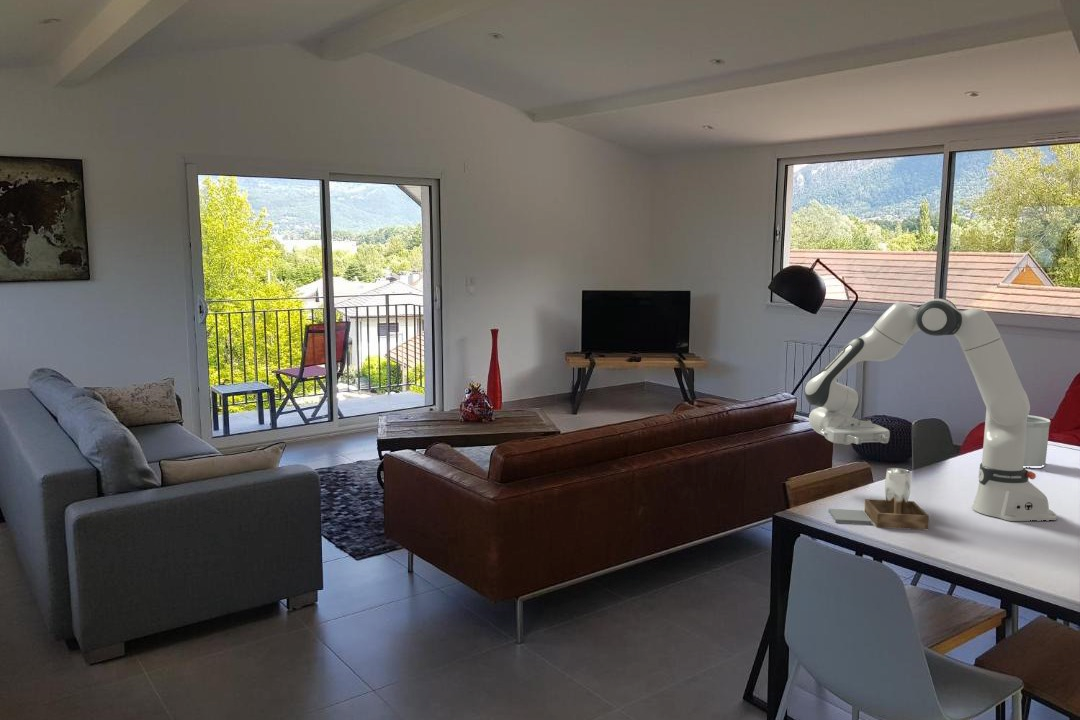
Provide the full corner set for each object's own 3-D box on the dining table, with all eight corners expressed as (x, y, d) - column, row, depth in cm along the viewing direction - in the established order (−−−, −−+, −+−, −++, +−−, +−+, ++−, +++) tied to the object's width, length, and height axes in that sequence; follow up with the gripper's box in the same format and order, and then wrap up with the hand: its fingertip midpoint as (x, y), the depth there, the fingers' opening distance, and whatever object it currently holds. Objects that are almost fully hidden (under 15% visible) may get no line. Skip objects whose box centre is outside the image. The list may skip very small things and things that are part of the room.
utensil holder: (1013, 469, 305) (1017, 422, 303) (993, 458, 320) (997, 413, 318) (1054, 470, 305) (1059, 422, 302) (1032, 459, 319) (1036, 414, 317)
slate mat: (862, 513, 252) (862, 510, 252) (871, 524, 242) (871, 521, 242) (828, 511, 253) (828, 508, 253) (835, 522, 243) (835, 519, 243)
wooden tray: (912, 514, 252) (913, 501, 251) (928, 529, 238) (929, 516, 238) (864, 511, 254) (865, 498, 253) (876, 527, 240) (877, 513, 239)
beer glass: (910, 525, 242) (914, 474, 240) (885, 523, 243) (888, 473, 241) (905, 517, 249) (908, 468, 246) (880, 515, 250) (883, 467, 248)
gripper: (817, 421, 264) (844, 432, 251) (873, 419, 270) (902, 430, 257) (815, 440, 265) (842, 452, 252) (871, 438, 271) (899, 450, 258)
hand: (873, 441), depth 254 cm, fingers open, 8 cm apart
